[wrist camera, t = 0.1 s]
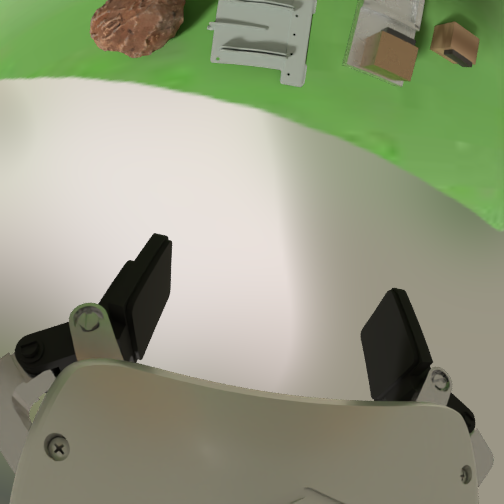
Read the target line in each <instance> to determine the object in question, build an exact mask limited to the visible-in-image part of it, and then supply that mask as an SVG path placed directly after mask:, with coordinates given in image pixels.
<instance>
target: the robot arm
mask: <svg viewBox="0 0 504 504" xmlns="http://www.w3.org/2000/svg"><path fill="white" fill-rule="evenodd" d="M171 257H172V241H170V240H168V237H167V236H165V235H160V234H156V233H154V234H153V235H152V237H151V238H150V239H149V241H148V242H147V243H146V245H145V247H144V248H143V249H142V251H141V252H140V254H139V255H138V257H137V258H136V259H135V261H131V260H129V261H127V262H126V264H125V265H124V266H123V268H122V269H121V271H120V272H119V274H118V275H117V277H116V278H115V279H114V281H113V282H112V284H111V285H110V287H109V289H108V290H107V291H106V293H105V294H104V296H103V298H102V299H101V301H100V302H99V304H95V303H85V304H82V305H79V306H77V307H76V308H75V309H74V310H73V311H72V312H71V314H70V317H69V322H67V323H64V324H60V325H58V326H54V327H51V328H48V329H45V330H42V331H38V332H35V333H32V334H29V335H27V336H24V337H23V338H22V339H21V340H20V341H19V342H18V344H17V345H16V349H15V353H13V354H12V355H10V353H7V354H6V355H5V356H3V357H2V358H0V450H1V452H2V454H3V455H4V457H5V459H6V461H7V462H8V464H9V465H10V467H11V469H12V470H13V472H14V473H15V480H14V484H13V488H12V493H11V499H10V504H479V498H478V497H479V496H478V487H479V485H480V484H481V483H482V481H483V480H484V478H485V477H486V475H487V474H488V472H489V471H490V469H491V468H492V465H493V461H494V459H493V454H492V452H491V450H490V449H489V447H488V445H487V444H486V442H485V440H484V439H483V437H482V435H481V434H480V432H479V431H478V429H477V428H476V429H475V430H474V428H475V418H474V415H473V413H472V412H471V411H470V409H469V408H467V407H466V406H465V405H464V404H463V403H462V402H461V401H460V400H459V399H458V398H456V397H455V396H454V395H453V394H452V393H451V390H452V381H451V378H450V376H449V375H448V373H447V372H446V371H445V370H444V369H442V368H440V367H433V368H432V369H431V368H430V365H431V364H432V363H433V361H432V358H431V355H430V352H429V349H428V346H427V344H426V341H425V338H424V335H423V333H422V330H421V327H420V325H419V322H418V320H417V317H416V315H415V312H414V310H413V307H412V305H411V303H410V300H409V298H408V296H407V293H406V291H405V290H402V289H397V288H392V289H391V290H389V291H387V293H386V294H385V296H384V297H383V299H382V301H381V302H380V304H379V305H378V307H377V308H376V310H375V311H374V313H373V314H372V316H371V317H370V319H369V320H368V322H367V323H366V325H365V326H364V327H363V329H362V331H361V341H362V346H363V351H364V356H365V362H366V368H367V373H368V379H369V385H370V391H371V397H372V399H374V401H356V400H337V399H325V398H312V397H303V396H294V395H287V394H279V393H272V392H265V391H259V390H253V389H247V388H242V387H236V386H231V385H226V384H221V383H216V382H212V381H207V380H203V379H198V378H194V377H190V376H186V375H181V374H177V373H174V372H170V371H166V370H162V369H159V368H155V367H150V366H146V365H142V364H139V363H136V362H137V360H138V359H139V360H141V359H142V358H143V356H144V354H145V351H146V349H147V346H148V344H149V341H150V339H151V337H152V334H153V332H154V330H155V327H156V325H157V323H158V321H159V318H160V316H161V314H162V311H163V309H164V307H165V305H166V302H167V300H168V298H169V295H170V286H171V285H170V284H171ZM43 393H46V395H45V397H44V399H43V401H42V403H41V405H40V407H39V410H38V411H37V414H36V416H35V418H34V421H33V423H31V421H30V418H29V411H30V408H31V406H32V405H33V404H34V403H35V402H37V401H38V400H39V398H38V397H39V396H41V395H42V394H43ZM66 439H67V440H66Z"/></svg>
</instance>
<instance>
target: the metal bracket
mask: <svg viewBox="0 0 504 504" xmlns="http://www.w3.org/2000/svg"><path fill="white" fill-rule="evenodd" d="M316 4H317V0H219V2H218V8H217V15H216V21H215V22H209V24H210V25H211V26H209V25H208V27H207V30H214V36H213V44H212V52H211V62H212V63H226V64H238V65H248V66H257V67H265V68H272V69H278V70H281V79H280V83H281V84H286V85H292V86H298V87H302V86H303V84H304V82H305V76H306V70H307V65H306V64H305V61H306V54H307V47H308V41H309V34H310V27H311V19H312V14H313V13H315V11H316V10H315V8H316ZM296 15H298V17H296ZM293 34H295V36H294V35H293ZM290 53H292V54H293V55H290ZM217 57H219V58H220V60H219V61H217V60H216V58H217ZM288 73H289V74H290V75H289V76H288V75H287V74H288Z"/></svg>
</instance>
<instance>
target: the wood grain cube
mask: <svg viewBox="0 0 504 504" xmlns="http://www.w3.org/2000/svg"><path fill="white" fill-rule="evenodd" d="M478 45H479V39H478V38H477V37H476V36H474V35H473V34H472V33H470V32H469V31H468V30H466V29H465V28H463V27H462V26H461V25H459V24H458V23H456V22H451V23H446V24H441V25H437V26H435V27H434V33H433V38H432V43H431V47H430V50H432V51H434V52H436V53H437V54H439V55H441V56H442V57H444V58H445V59H447V60H449V61H450V62H452V63H453V64H459V65H461V66H462V67H472V64H475V62H476V57H477V51H478Z"/></svg>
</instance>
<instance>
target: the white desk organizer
mask: <svg viewBox="0 0 504 504" xmlns="http://www.w3.org/2000/svg"><path fill="white" fill-rule="evenodd" d="M424 2H425V0H358V2H357V7H356V11H355V15H354V19H353V23H352V27H351V31H350V35H349V39H348V43H347V47H346V51H345V55H344V59H343V63H342V66H345V67H348V68H351V69H354V70H356V71H359V72H362V73H364V74H367V75H369V76H372V77H374V78H377V79H379V80H381V81H384V82H386V83H388V84H391V85H393V86H400V87H402V85H403V81H410V80H411V76H412V73H413V69H414V65H415V61H416V57H417V52H418V48H417V47H416V46H415V43H416V40H414V36H415V32H419V30H420V25H421V19H422V14H423V8H424Z"/></svg>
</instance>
